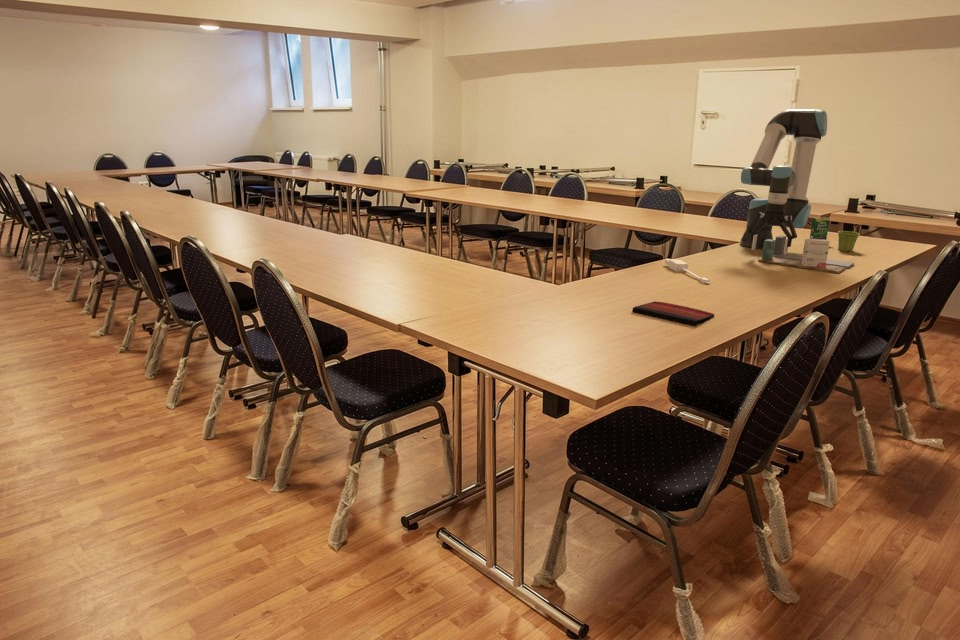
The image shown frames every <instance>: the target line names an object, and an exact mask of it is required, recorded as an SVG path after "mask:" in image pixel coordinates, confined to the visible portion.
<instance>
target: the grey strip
mask: <svg viewBox="0 0 960 640" xmlns="http://www.w3.org/2000/svg"><path fill="white" fill-rule="evenodd" d="M786 239H787V236H786V235H777V236H775V239H774V240H775V245H774V251H773V257H777V258H784V259H791V260H798V261H802V256H803V254H795V253H791V252H790V253H788V252H787V254H786V255H784V248H785V242H786ZM826 265H832V266H839V267H845V269H850V268H851V267H852V266H854V265H855V262H851V261H846V260H840V259H839V260H838V259H832V258H827V261H826Z"/></svg>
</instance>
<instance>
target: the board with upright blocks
mask: <svg viewBox="0 0 960 640" xmlns="http://www.w3.org/2000/svg"><path fill="white" fill-rule="evenodd" d="M774 245H775V239H773V240H771V239H767V240H765V241H764V247H763V248H762V255H761V258H758V259H757V261H758V262H761V263H767V264H774V265H780V266H787V267H794V268H801V269H807V270H814V271H819V272H825V273H832V274H840V273H841V272H842V271H844V270H846V268H845V267H839V266H832V265H826V267H814V266H803V265H802V264H801V262H802V261H798V260H791V259H784V258H777V257H773V252H774Z"/></svg>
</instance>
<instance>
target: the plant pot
mask: <svg viewBox="0 0 960 640" xmlns="http://www.w3.org/2000/svg"><path fill="white" fill-rule="evenodd" d="M837 233H838V234H837V235H838V250H839V251H840V252H841V251H843V252H853V250H854V247H855V245H856V242H857V240H858V238H859V236H860V234H861V233H859V232H856V231H845V230H838V231H837Z"/></svg>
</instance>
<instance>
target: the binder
mask: <svg viewBox="0 0 960 640" xmlns="http://www.w3.org/2000/svg"><path fill="white" fill-rule="evenodd" d="M632 313H634V314H636V315H637V314H638V315H642V316H646V317H650V318H656V319H660V320H663V321H669V322H673V323H678V324H682V325H687V326H690V327H695V328H696V327H697V323H698V324H699V325H702V324H704V323H706V322H708V321H709V320H711V319H713V318H714V317H715V314H714V313H712V312H709V311H706V310H705V311H704V310H701V309H698V308H693V307H690V306H684V305H679V304H675V303H674V304H673V303H669V302H662V301H651V302H646V303H643V304H640V305H636V306H634V307H632Z"/></svg>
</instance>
